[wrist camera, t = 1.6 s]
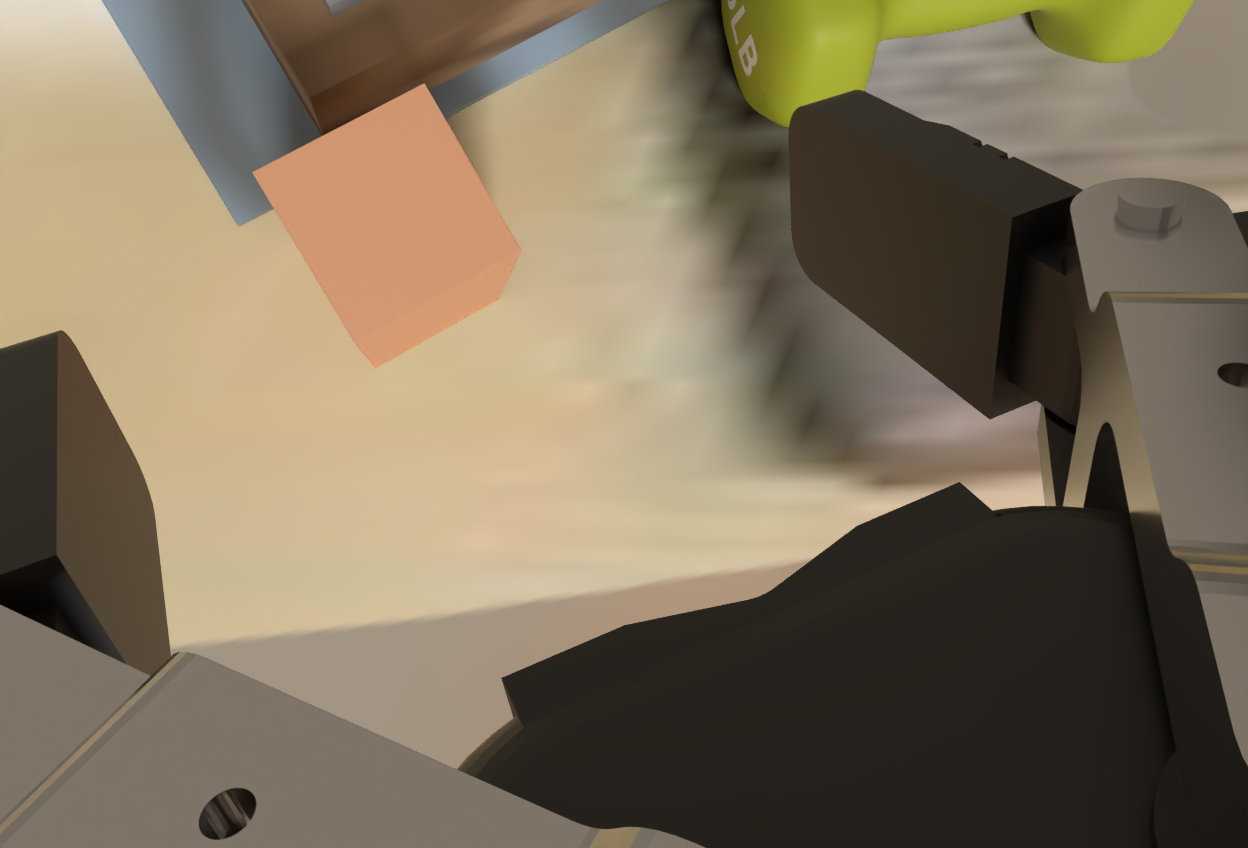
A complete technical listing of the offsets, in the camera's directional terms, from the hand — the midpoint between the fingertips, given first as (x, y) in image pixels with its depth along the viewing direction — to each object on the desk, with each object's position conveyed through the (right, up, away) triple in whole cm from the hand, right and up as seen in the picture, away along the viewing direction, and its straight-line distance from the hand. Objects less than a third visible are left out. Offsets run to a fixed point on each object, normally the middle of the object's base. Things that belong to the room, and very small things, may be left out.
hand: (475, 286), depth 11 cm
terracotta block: (-6, +4, +26) cm, 27 cm away
